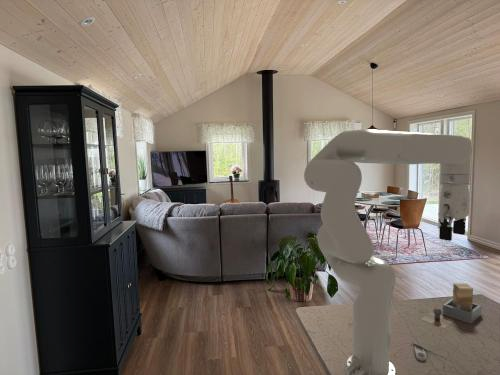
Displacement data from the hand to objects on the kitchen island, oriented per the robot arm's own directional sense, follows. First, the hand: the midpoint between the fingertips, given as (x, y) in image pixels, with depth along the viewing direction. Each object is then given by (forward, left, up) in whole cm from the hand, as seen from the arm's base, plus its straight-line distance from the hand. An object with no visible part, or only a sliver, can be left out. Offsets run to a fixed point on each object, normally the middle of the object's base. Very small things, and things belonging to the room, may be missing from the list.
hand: (452, 236), depth 105 cm
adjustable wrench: (-5, +9, -34) cm, 35 cm away
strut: (+19, +3, -32) cm, 38 cm away
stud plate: (+9, +7, -33) cm, 35 cm away
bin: (+19, +3, -33) cm, 38 cm away
